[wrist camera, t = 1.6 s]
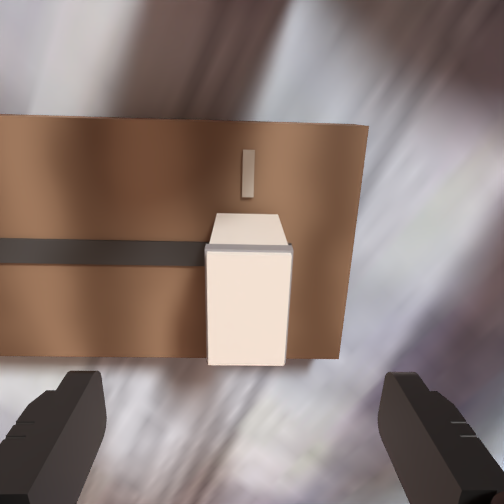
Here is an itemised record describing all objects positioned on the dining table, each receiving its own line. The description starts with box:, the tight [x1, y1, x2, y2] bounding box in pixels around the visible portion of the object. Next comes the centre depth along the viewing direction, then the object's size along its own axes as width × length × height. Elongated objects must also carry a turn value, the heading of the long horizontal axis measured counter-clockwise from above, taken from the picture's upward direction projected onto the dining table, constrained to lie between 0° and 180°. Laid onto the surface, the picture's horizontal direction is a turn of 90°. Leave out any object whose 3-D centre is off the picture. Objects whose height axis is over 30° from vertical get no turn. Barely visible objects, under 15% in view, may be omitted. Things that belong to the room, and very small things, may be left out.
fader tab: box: [205, 213, 294, 366], centre depth 18 cm, size 3×5×6 cm, turn 178°
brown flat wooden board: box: [0, 114, 369, 359], centre depth 22 cm, size 28×14×3 cm, turn 88°
